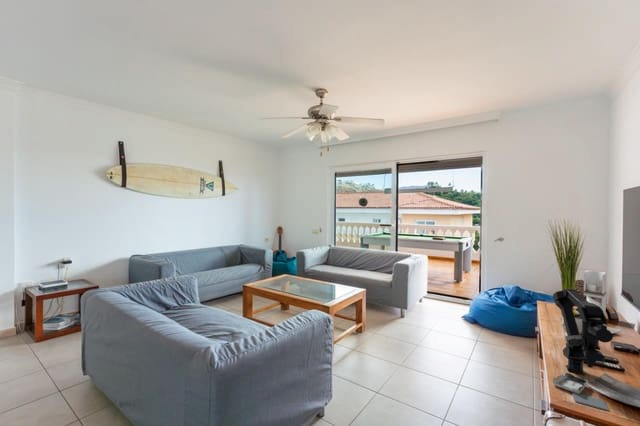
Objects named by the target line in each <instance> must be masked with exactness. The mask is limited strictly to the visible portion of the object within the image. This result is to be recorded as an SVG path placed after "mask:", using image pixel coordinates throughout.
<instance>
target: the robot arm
mask: <svg viewBox="0 0 640 426" xmlns="http://www.w3.org/2000/svg"><path fill="white" fill-rule="evenodd" d="M552 299H553V301H554V303H555V305H556V307H558V308H559V310H560V311H561V315H562V319H563V323H564V327H565V330H566V331H565V332H566V334H567V335H566V336H565V340H566V342H565V347H564V348H563V350H562V355H563V356H564V357H565V358H566V359H567V364H566V365H565V367H566V369H567V372H568V373H574V374H578V375H582V376H586V371H585V370H584V362H586V364H587V367H588V368H590V369H591V368H592V367H593V366H594V365H595V364H596V362H597V361H599V362H603V363H604V362H606V357H605V355H604V354H603V353H602V352H601V351H600V350H601V347H600V342H601V343H605V344H606V343H609V342H612V340H613V338H614V336H613V334H612V332H611V331H610V330H609V329H608V327H607V325H608V319H607V317H605V315H604V313H603V310H602V309H601V308H600V307H599V306H597V305H596V304H593V303H590V302H588V301H587V298H585V297H584V296H582V295H581V294H580V293H579V291H578V290H577V289H574V288H563V289H561V290H558V291H555V292H554V293H553V295H552ZM575 306H576V307H577V308H578V310H577V312H578V314H579V315H580V320H581V331H580V332H579V327H578V324H577V320H576V317H575V313H574V310H573V308H574V307H575ZM592 318H593V319H592ZM598 319H601V320H598Z"/></svg>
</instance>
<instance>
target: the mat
mask: <svg viewBox="0 0 640 426" xmlns="http://www.w3.org/2000/svg"><path fill="white" fill-rule="evenodd" d="M571 395H572V398H573V401H574V402H575V403H577V404H581V405H584V406H587V407H592V408H595V409H599V410H603V411H607V412H609V411H610V410H609V408H608V405H607V404H606V402H605V400H604V399H601V398H597V397H592V396H588V395H585V394H583V393H582V394H581V393H580V394H577V393H575V392H572V391H571Z"/></svg>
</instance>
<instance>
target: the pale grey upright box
mask: <svg viewBox="0 0 640 426" xmlns="http://www.w3.org/2000/svg"><path fill="white" fill-rule="evenodd" d="M583 296H585V297H586V300H587V301H588V302H590V303H593V304H596V305H597V306H599V307H600V308H601V309H602V310H603V313H604V315H605V317H606V316H607V315H606V313H607V312H606V311H607V310H606V307H607V305H606V303H607V272H604V271H596V270H587V269H586V270H585V271H583ZM606 318H607V317H606ZM592 319H593V318H592ZM598 320H601V319H598Z"/></svg>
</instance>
